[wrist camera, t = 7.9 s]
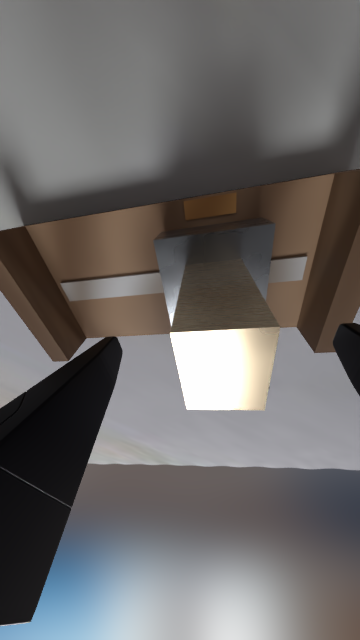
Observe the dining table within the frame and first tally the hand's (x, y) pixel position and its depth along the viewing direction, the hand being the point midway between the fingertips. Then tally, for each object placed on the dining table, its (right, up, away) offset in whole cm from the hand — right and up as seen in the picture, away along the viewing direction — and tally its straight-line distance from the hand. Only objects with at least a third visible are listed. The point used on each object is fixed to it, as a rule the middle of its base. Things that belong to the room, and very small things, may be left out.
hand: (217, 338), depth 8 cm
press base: (-2, +5, +7) cm, 9 cm away
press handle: (+1, +4, +5) cm, 7 cm away
